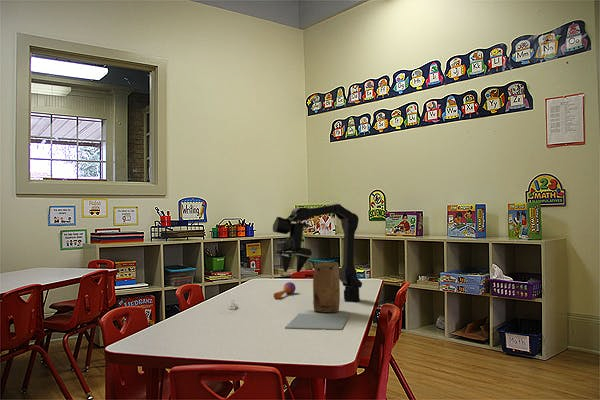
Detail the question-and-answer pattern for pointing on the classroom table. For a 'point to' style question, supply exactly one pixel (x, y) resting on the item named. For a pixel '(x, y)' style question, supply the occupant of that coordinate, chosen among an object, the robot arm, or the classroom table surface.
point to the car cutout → (232, 305)
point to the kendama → (286, 290)
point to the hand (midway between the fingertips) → (291, 272)
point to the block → (326, 287)
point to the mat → (318, 321)
